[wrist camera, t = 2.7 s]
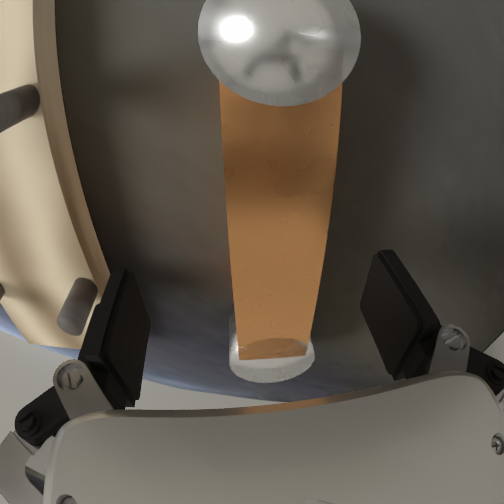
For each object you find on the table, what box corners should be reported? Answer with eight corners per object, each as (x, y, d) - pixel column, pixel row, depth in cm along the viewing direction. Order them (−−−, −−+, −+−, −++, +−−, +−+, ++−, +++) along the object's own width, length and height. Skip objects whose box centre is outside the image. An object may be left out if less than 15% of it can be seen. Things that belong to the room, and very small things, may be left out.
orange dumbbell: (327, -9, 9) (360, -27, 6) (300, 334, 23) (308, 379, 19) (206, -12, 9) (196, -36, 6) (231, 338, 23) (232, 384, 19)
